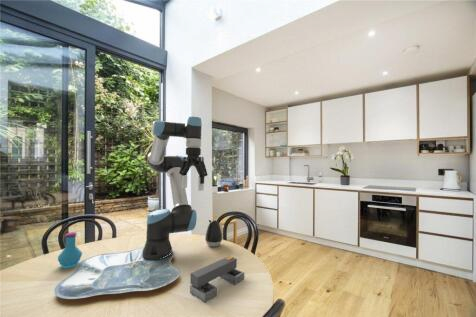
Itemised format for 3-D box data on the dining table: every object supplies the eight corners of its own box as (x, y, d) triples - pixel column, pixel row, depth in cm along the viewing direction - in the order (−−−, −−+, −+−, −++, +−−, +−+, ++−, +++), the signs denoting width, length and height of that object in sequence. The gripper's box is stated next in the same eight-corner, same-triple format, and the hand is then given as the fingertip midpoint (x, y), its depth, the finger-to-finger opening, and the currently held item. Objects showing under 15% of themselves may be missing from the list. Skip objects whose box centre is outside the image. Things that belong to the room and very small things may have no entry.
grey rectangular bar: (189, 292, 85) (190, 272, 85) (229, 272, 101) (229, 254, 101) (197, 297, 82) (197, 276, 82) (236, 275, 98) (236, 257, 98)
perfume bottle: (83, 264, 105) (84, 233, 105) (59, 271, 98) (60, 238, 98) (79, 258, 111) (80, 229, 111) (55, 264, 104) (57, 233, 105)
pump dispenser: (215, 240, 141) (215, 217, 141) (225, 245, 133) (226, 220, 133) (201, 244, 134) (202, 219, 134) (211, 250, 126) (212, 223, 126)
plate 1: (189, 292, 85) (190, 284, 85) (201, 286, 89) (202, 279, 89) (204, 303, 79) (205, 294, 79) (217, 295, 83) (217, 287, 83)
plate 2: (219, 277, 97) (219, 270, 97) (229, 272, 101) (229, 265, 101) (234, 285, 91) (234, 277, 91) (244, 279, 95) (244, 272, 95)
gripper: (173, 147, 117) (172, 187, 117) (203, 146, 101) (202, 192, 100) (185, 148, 123) (184, 186, 123) (215, 147, 106) (214, 190, 106)
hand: (192, 189), depth 111 cm, fingers open, 13 cm apart
